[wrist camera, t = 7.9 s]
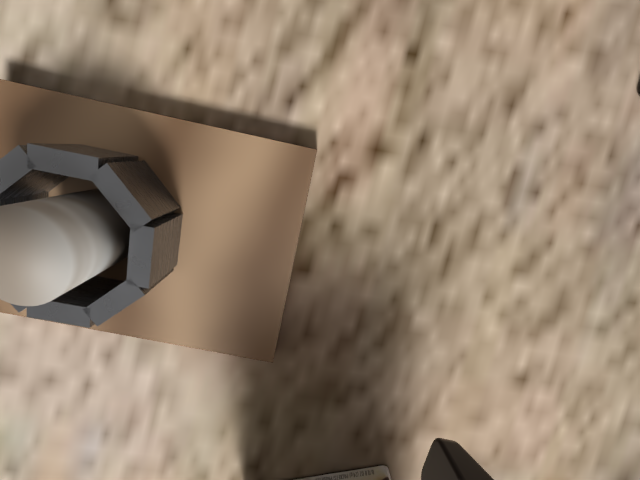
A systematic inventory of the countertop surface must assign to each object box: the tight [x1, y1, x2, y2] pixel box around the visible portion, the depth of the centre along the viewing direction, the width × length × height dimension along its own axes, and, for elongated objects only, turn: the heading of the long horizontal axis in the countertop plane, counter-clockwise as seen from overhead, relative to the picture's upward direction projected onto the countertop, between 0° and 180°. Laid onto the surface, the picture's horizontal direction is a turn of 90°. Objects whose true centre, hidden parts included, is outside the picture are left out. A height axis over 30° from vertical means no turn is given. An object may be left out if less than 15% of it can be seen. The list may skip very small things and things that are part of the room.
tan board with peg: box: [0, 79, 317, 363], centre depth 15 cm, size 14×11×6 cm
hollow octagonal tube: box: [0, 143, 183, 328], centre depth 15 cm, size 7×7×3 cm
